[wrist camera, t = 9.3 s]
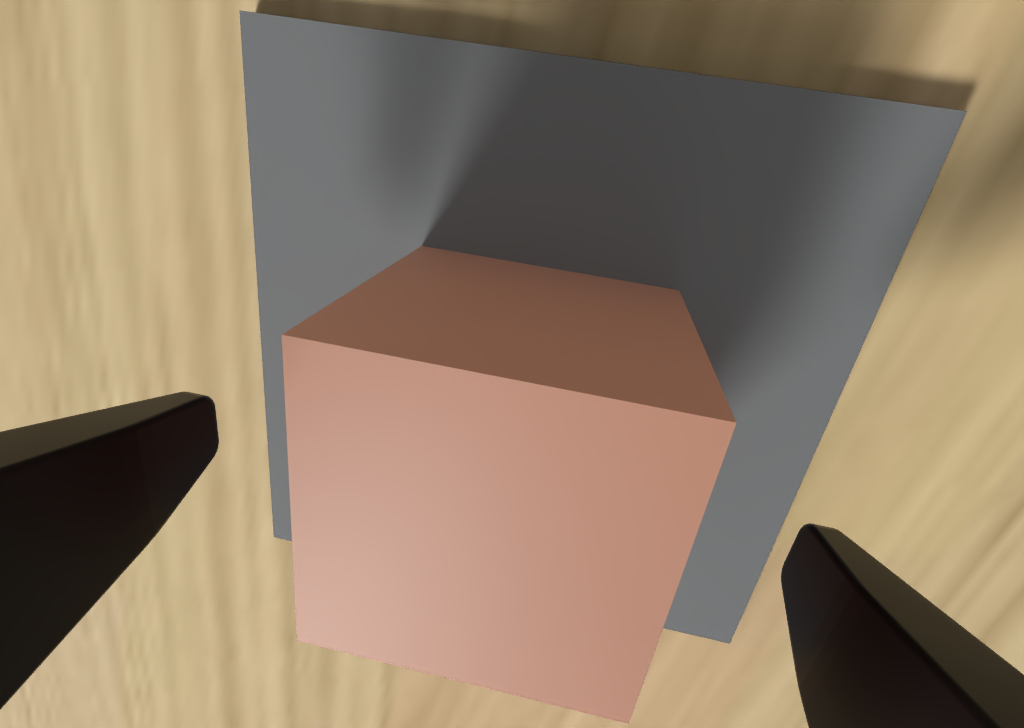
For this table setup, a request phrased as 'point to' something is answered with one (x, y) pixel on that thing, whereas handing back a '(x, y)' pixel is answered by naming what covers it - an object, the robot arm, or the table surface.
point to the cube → (499, 473)
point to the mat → (597, 224)
